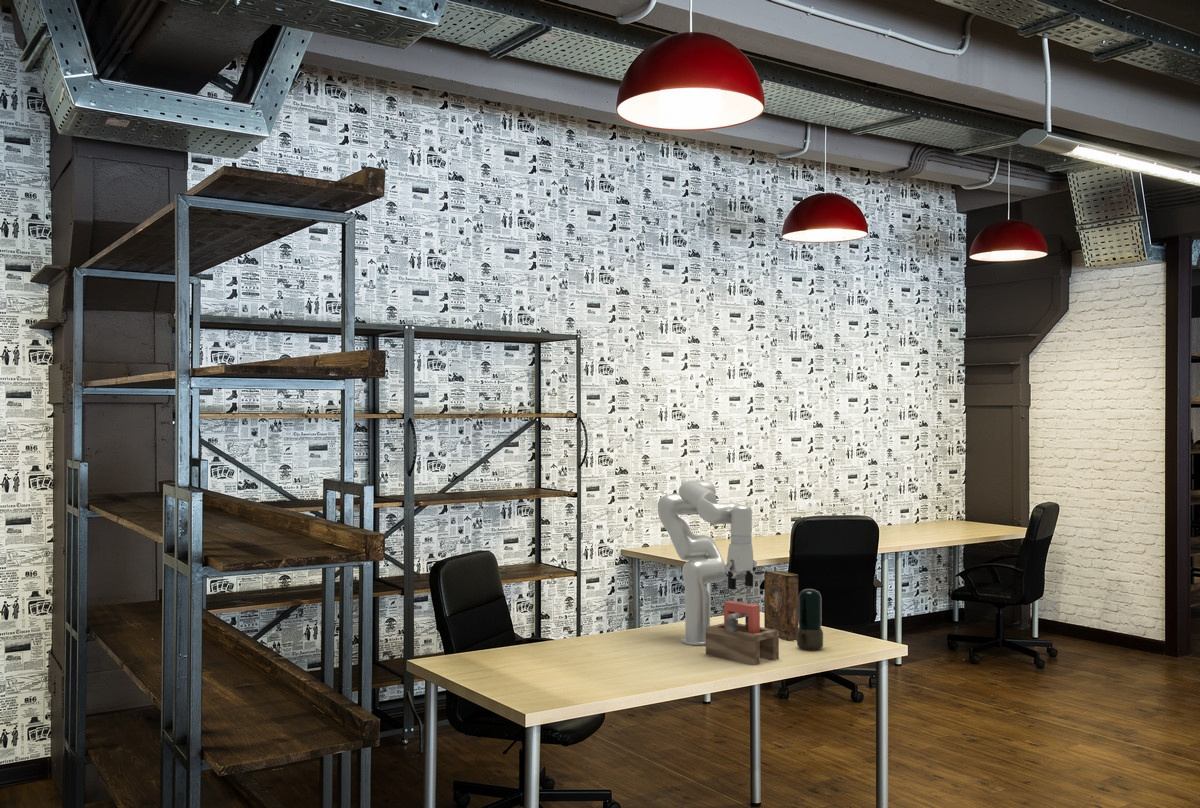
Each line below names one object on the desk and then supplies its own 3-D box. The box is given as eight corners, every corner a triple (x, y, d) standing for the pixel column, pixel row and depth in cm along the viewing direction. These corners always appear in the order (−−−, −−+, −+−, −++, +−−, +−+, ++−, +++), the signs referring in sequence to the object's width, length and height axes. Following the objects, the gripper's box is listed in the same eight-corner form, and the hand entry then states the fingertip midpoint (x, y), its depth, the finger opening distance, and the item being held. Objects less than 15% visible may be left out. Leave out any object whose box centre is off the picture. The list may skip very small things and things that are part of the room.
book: (800, 640, 386) (800, 575, 386) (788, 641, 383) (788, 576, 384) (775, 632, 400) (775, 569, 401) (764, 633, 398) (764, 570, 399)
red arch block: (731, 636, 363) (731, 600, 364) (759, 641, 354) (759, 605, 354) (724, 638, 361) (724, 602, 361) (753, 643, 351) (752, 606, 352)
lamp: (823, 651, 365) (823, 591, 365) (796, 650, 367) (796, 590, 367) (823, 646, 374) (822, 587, 375) (797, 645, 376) (796, 586, 377)
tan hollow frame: (730, 648, 370) (730, 605, 370) (778, 658, 354) (778, 613, 354) (705, 654, 360) (705, 610, 361) (754, 665, 344) (754, 618, 345)
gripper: (747, 536, 367) (747, 583, 367) (717, 540, 355) (716, 588, 355) (764, 539, 362) (763, 586, 361) (733, 543, 350) (733, 591, 350)
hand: (740, 587), depth 358 cm, fingers open, 9 cm apart
